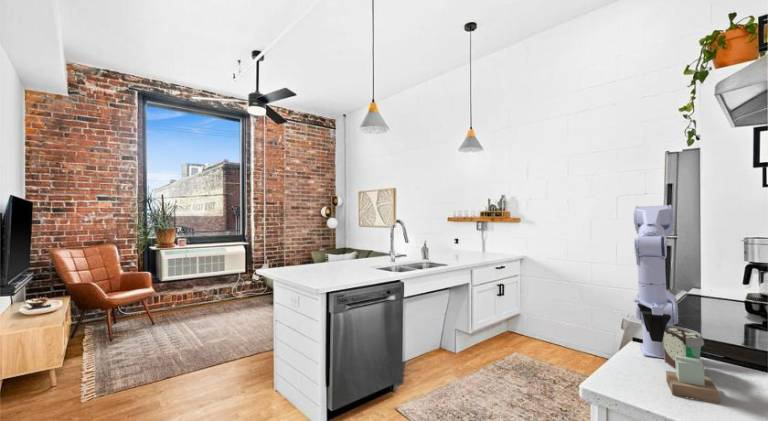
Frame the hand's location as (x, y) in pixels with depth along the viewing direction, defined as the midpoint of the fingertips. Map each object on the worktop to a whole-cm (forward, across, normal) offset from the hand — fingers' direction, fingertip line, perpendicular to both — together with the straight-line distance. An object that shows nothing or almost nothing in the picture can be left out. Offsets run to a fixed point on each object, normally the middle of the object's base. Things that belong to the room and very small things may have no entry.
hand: (654, 336), depth 92 cm
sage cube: (+8, +6, +6) cm, 11 cm away
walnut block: (+10, +6, +6) cm, 14 cm away
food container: (+10, -8, +8) cm, 15 cm away
